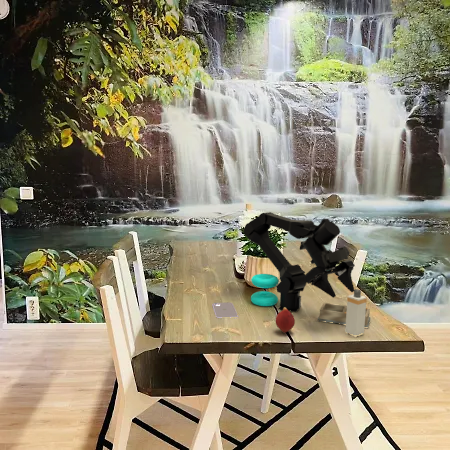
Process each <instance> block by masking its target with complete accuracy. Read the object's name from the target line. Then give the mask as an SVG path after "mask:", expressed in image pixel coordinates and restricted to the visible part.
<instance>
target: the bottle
mask: <svg viewBox="0 0 450 450" xmlns="http://www.w3.org/2000/svg"><path fill="white" fill-rule="evenodd" d="M367 299H368V298H367V296H364V295H362V290H361V289H359V288H358V289H356V288H354V292H353V294H350V295H347V300H346V306H347V312H346V325H345V328H344V329H345V330H344V333H345V332H347V333H350V334H353V335H359V334H361V333H364V334H365V328H364V326H365V313H366V308H367Z"/></svg>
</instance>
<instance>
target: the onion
mask: <svg viewBox="0 0 450 450" xmlns="http://www.w3.org/2000/svg"><path fill="white" fill-rule="evenodd" d="M295 321H296V320H295V317H294V315H293V314H292V311H288V310H287V309H286V308H285V307H284V308H283V310H280V312H279V313H277V315H276V317H275V325H276V326H277V328H278V329H279V330H280V331H281V332H282V333H284V334H285V333H287V332H290V331H291V330H292V329H293V328H294V327H295V323H296V322H295Z"/></svg>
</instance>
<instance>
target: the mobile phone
mask: <svg viewBox="0 0 450 450" xmlns="http://www.w3.org/2000/svg"><path fill="white" fill-rule="evenodd" d="M212 310H213V312H214V316H215V315H216V316H215V318H216V317H217V318H222V317H230V318H231V317H238V318H239V315H237V314H238V311H237V310H236V308H235V306H234V304H233V302H213V303H212ZM217 318H216V319H217Z"/></svg>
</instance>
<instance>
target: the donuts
mask: <svg viewBox="0 0 450 450" xmlns="http://www.w3.org/2000/svg"><path fill="white" fill-rule="evenodd" d="M279 280H280V278H278V276H276V275H273V274H272V273H271V274H270V273H258V274H254V275H253V276H252V277H251V283H252V285H253V286H255V287H257V288H261V289H272V288H275V287H276V286H277V285H278V284H279V283H280V281H279ZM250 301H251V302H252V304H253V305H256V306H259V307H260V306H261V307H272V306H275V305H276V304H277V303H278V302H279V297H278V296H277V294H275V293H274V292H271V291H266V290H261V291H256V292H254V293H252V295H251V296H250Z"/></svg>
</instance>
